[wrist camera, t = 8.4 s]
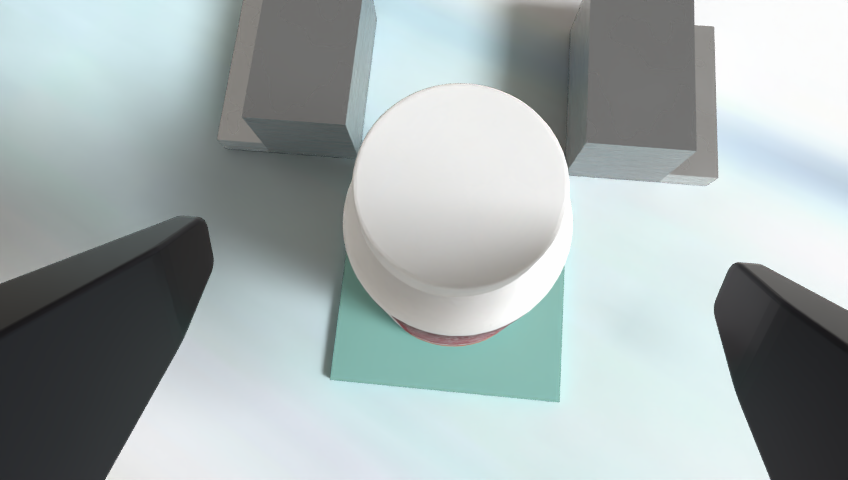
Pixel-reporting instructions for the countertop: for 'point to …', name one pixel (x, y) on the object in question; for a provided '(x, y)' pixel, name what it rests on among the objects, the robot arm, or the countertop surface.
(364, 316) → the mat
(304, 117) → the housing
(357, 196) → the pill bottle
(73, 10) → the countertop surface
